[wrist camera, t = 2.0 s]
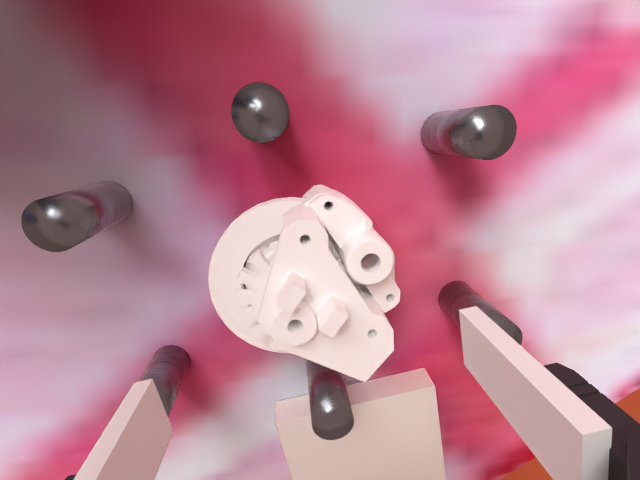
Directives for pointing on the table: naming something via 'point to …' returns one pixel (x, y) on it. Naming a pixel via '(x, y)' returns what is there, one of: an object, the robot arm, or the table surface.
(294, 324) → the mechanical part
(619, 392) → the table surface
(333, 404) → the standoff posts
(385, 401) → the parts stand
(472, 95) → the table surface
